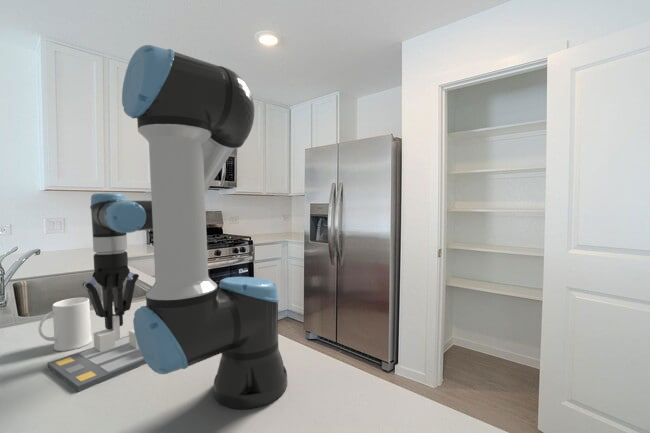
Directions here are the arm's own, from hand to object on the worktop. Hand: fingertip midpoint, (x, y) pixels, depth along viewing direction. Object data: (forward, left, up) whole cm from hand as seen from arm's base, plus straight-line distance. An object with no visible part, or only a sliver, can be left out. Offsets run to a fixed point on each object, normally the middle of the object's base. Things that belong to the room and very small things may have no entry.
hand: (114, 339), depth 88 cm
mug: (+13, +7, -3) cm, 15 cm away
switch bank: (-6, +3, -3) cm, 7 cm away
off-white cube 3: (0, +3, -1) cm, 3 cm away
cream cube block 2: (-6, -3, -1) cm, 7 cm away
